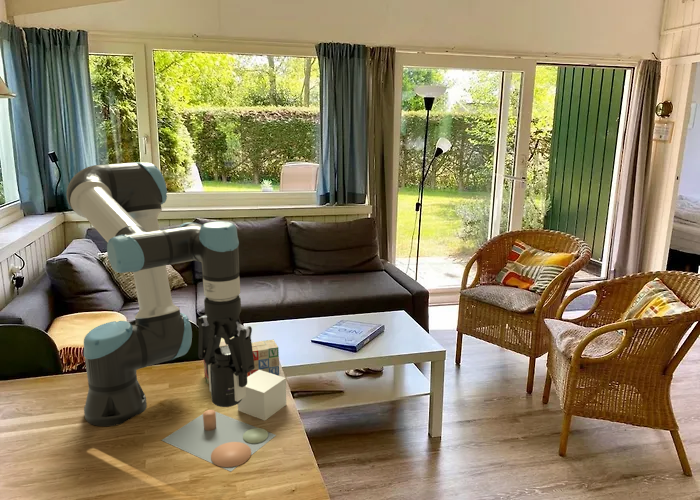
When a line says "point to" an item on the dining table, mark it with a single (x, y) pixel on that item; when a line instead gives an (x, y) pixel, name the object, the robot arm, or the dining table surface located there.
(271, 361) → the stack of blocks
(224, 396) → the supplement bottle
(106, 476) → the dining table surface
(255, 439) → the board
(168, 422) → the dining table surface
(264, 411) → the plain off-white box
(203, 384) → the dining table surface
